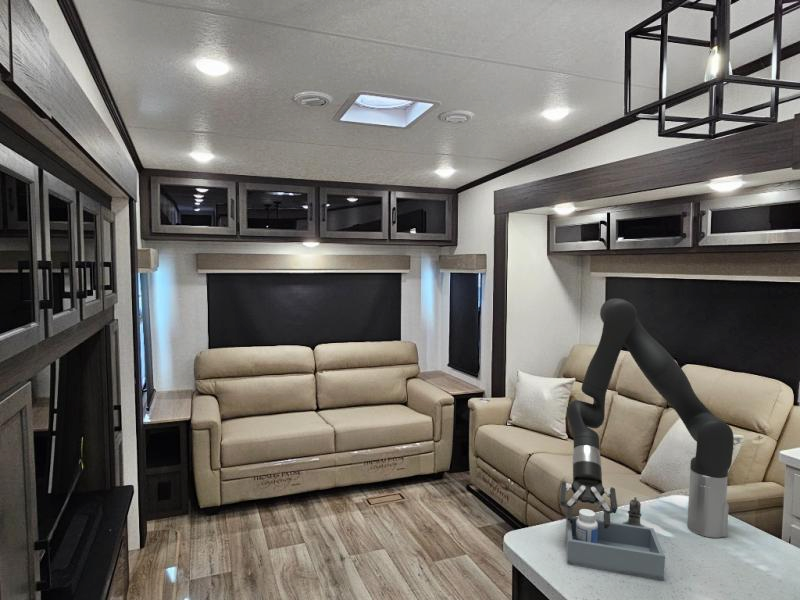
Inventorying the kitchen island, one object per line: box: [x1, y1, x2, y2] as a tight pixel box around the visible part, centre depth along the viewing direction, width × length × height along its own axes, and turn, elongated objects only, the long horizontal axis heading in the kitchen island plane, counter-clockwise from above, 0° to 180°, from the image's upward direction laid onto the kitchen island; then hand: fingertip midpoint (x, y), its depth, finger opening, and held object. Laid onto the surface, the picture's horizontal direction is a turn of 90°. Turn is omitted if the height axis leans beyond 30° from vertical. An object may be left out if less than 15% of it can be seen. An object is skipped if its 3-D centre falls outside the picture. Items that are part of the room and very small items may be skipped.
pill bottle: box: [576, 508, 598, 543], centre depth 133 cm, size 6×5×10 cm
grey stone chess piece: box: [622, 497, 645, 527], centre depth 140 cm, size 6×6×12 cm
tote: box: [565, 515, 666, 581], centre depth 131 cm, size 22×14×6 cm, turn 74°
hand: (588, 524), depth 132 cm, fingers open, 8 cm apart
